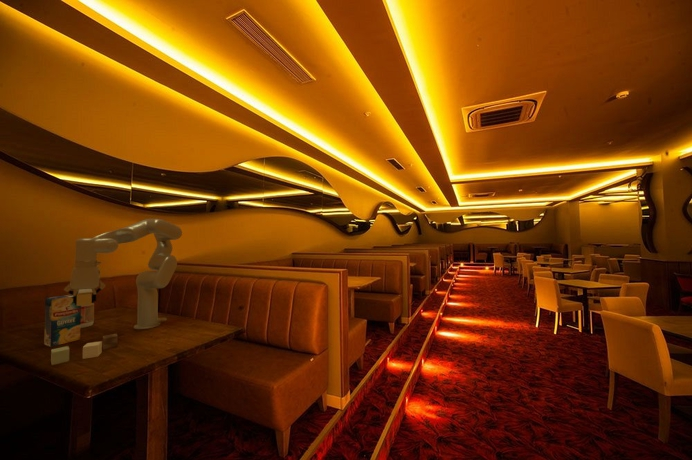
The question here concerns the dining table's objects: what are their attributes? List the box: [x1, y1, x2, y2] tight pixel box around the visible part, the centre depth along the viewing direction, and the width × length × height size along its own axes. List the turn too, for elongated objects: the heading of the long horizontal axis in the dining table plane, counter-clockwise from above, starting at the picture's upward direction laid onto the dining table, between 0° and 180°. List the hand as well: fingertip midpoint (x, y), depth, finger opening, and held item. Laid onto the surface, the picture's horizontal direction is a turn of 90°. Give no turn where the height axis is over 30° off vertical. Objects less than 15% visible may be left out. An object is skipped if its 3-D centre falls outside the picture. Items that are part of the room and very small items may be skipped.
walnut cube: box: [102, 332, 119, 350], centre depth 132 cm, size 5×5×5 cm
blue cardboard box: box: [43, 294, 81, 348], centre depth 139 cm, size 7×11×22 cm, turn 155°
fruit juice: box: [78, 289, 95, 329], centre depth 164 cm, size 9×9×28 cm
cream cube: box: [82, 340, 103, 360], centre depth 122 cm, size 5×5×5 cm
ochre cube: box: [77, 292, 93, 306], centre depth 132 cm, size 5×5×5 cm
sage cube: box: [50, 345, 70, 366], centre depth 117 cm, size 5×5×5 cm
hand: (85, 303), depth 132 cm, fingers closed on ochre cube, 5 cm apart
